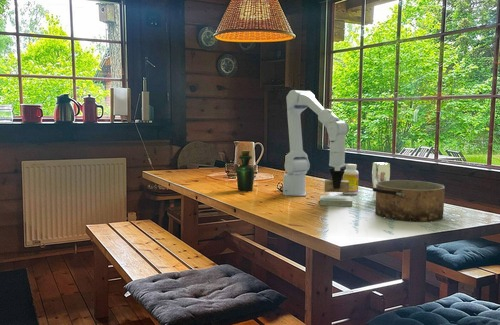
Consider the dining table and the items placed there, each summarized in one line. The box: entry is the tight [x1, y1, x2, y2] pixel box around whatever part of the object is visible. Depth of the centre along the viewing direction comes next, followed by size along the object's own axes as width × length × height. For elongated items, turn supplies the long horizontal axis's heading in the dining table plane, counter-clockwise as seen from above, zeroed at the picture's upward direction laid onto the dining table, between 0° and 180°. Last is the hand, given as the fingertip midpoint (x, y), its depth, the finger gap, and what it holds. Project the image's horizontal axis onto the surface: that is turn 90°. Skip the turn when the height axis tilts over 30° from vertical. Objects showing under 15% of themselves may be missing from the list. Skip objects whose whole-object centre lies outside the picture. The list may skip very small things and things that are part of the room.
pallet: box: [324, 179, 349, 194], centre depth 184 cm, size 9×5×4 cm, turn 82°
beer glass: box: [371, 161, 391, 202], centre depth 192 cm, size 7×7×15 cm
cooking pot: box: [372, 179, 446, 223], centre depth 164 cm, size 30×22×11 cm
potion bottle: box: [235, 149, 255, 192], centre depth 211 cm, size 8×8×18 cm
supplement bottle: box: [342, 163, 360, 196], centre depth 206 cm, size 7×7×13 cm
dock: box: [319, 194, 353, 207], centre depth 184 cm, size 12×10×2 cm
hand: (336, 187), depth 184 cm, fingers closed on pallet, 5 cm apart
